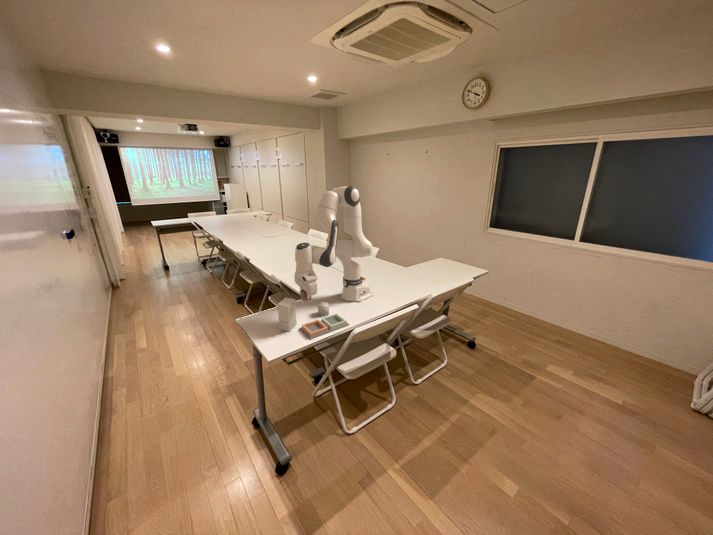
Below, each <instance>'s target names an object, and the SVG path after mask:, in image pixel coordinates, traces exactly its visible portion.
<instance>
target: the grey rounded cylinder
mask: <svg viewBox="0 0 713 535" xmlns="http://www.w3.org/2000/svg"><path fill="white" fill-rule="evenodd" d="M317 312H318V314H317V315H318V316H319V317H327V316H330V304H329V302H327V301H321V302H318V304H317Z"/></svg>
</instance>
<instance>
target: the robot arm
mask: <svg viewBox="0 0 713 535" xmlns="http://www.w3.org/2000/svg"><path fill="white" fill-rule="evenodd" d="M360 198H361V194H360V190H359V189H358V188H357V187H356V186H353V185H348V186H346V185H345V186H339V187H334V188H331V189H329V190H327V191H326V190H325V191H324V192H323V194H322V195H321V198H320V200H319V202H318V205H317V208H316V211H315V218H316V221H317V222H318V223H319V224H320V225H321V226H323V228H325V230H327V239H326V240H327V241H326V246H324V247H321V246H317V245H313V244H310V243H309V242H300V243H299V244H297V245H296V246H295V249H294V250H295V251H294V261H295V264H296V265H295V272H294V284H296V285H297V286H298V287H299V289H300V290H305V291H306V292H307V295H306V298H307V299H309V298H310V295H311V297H312V296H316V295H317V294H318V276H317V274H316V273H315V271H314V268H313V267H314V266H313V264H314V265H315V264H316V265H319V266H321V267H325V268H329V267H331V266H333V265H334V263H336V259H338V260H339V261H340V263H341V265H342V270H343V276H342V286H343V287H342V291H341V295H340V297H341V299H342V300H344V301H347V302H355V303H357V302H358V303H361V302H363V301H365V300H366V299H369V298H371V297H374V292H373V291H372V290H371V288H370V286H369V285H368V284H367V283H366V282H364V281H366V277H365V276H361V271H362V270H361V269H362V266H361V265H360V264H359V263H358V262H357V261H355V260H353V259H352V258H365V257H366V258H367V257H371V255H372V254H373V251H374V246H373V244H372V243H371V241H369V239H367V238H366V236H365V234H364V232H363V226H362V216H363V215H362V207H361V203H360ZM339 207H343V230H344V232H345V233H346V234H348V235H350V236H351V237H353V239H341V240H338V238H339V237H338V235H339V222H338V221H337V212H338V209H339Z"/></svg>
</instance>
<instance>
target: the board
mask: <svg viewBox="0 0 713 535" xmlns="http://www.w3.org/2000/svg"><path fill="white" fill-rule="evenodd" d="M347 321H348V320H346V319H345V318H344V317H343V316H341V315H340V314H339V313H334V314H331V315H330V314H329V315H327V316H323V317H321V320H320V319H316V320H312V321H310V322H307V323H304V324H301V327H299V330H300V331H301V332H302V333H303V334H304V335H305V336H306V338H308V339H309V340H313V339H316V338H318V337H321V336H324V335H327V334H329V333H332V332H334V331H337V330H339V329H342V328H343V329H344V328H345V327H347V326H350V323H348V322H347Z"/></svg>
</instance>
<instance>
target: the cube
mask: <svg viewBox="0 0 713 535" xmlns="http://www.w3.org/2000/svg"><path fill="white" fill-rule="evenodd" d="M299 295H300V296H299V297H300V299H301V300H302V301H303V302H307V301H310V300H312V296H311V295H310V298H309V299H307V298H306V295H307V292H306V291H305V290H301V289H300V290H299Z"/></svg>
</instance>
